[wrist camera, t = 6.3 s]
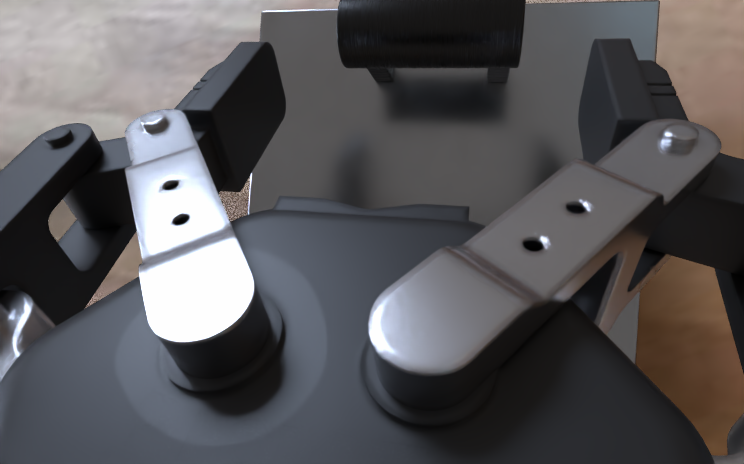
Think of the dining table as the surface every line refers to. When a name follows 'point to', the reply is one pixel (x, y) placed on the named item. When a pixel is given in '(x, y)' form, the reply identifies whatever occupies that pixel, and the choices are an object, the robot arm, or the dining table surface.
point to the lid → (437, 103)
